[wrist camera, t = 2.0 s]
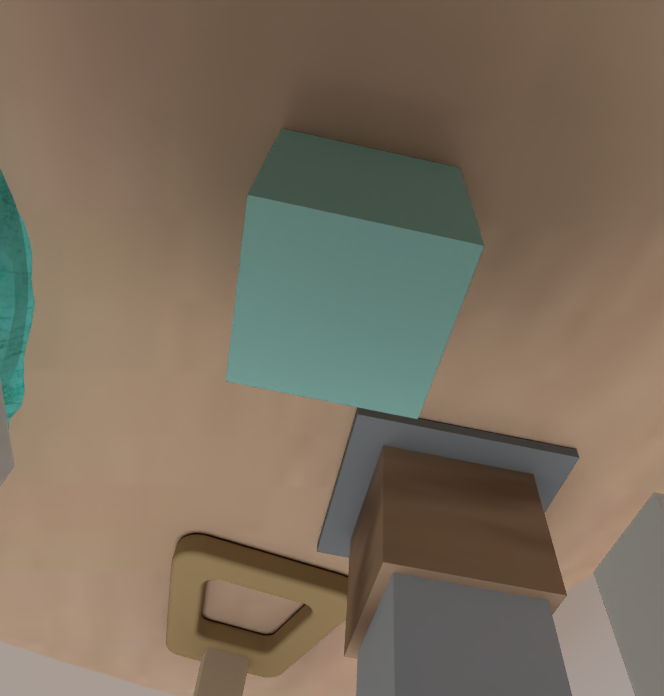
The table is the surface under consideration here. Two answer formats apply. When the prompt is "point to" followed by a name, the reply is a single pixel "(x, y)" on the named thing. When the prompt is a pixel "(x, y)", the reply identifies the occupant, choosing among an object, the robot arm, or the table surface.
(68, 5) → the table surface
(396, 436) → the coaster
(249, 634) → the headphone stand
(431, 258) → the teal block
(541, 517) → the base block
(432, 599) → the gray block
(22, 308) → the decorative stone
